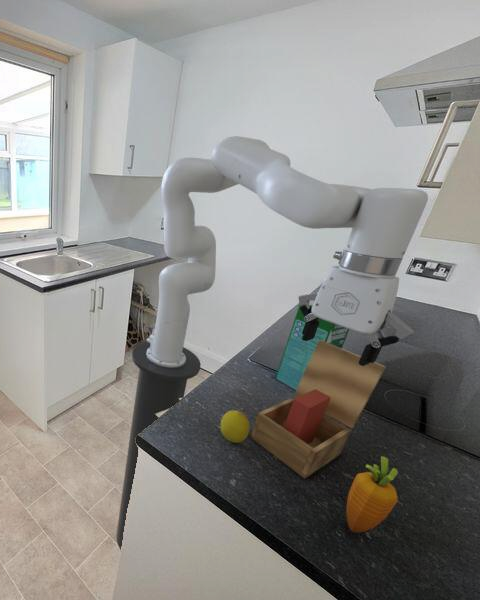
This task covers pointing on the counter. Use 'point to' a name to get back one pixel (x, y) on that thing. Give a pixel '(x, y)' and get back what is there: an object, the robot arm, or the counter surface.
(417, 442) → the counter surface
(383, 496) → the carrot
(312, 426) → the brick
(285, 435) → the chest
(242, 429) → the lemon
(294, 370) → the milk carton
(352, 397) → the wooden slab
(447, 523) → the counter surface
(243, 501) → the counter surface
